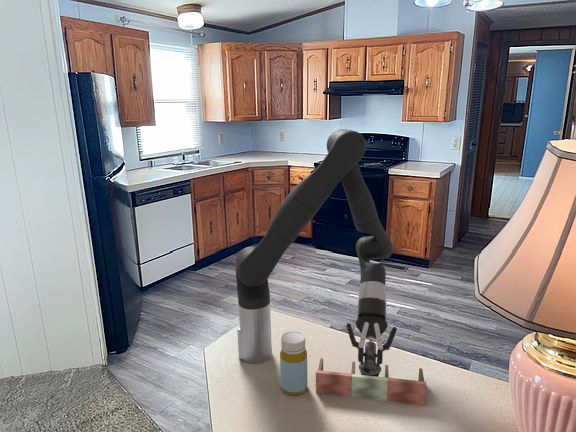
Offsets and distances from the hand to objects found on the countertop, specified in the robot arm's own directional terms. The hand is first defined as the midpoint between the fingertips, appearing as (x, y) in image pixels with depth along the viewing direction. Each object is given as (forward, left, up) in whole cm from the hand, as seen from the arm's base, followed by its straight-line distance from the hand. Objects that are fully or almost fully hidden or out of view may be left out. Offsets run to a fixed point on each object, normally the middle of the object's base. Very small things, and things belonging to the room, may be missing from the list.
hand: (370, 364), depth 110 cm
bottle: (-19, -3, -7) cm, 21 cm away
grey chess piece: (0, +2, -6) cm, 6 cm away
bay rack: (0, +1, -7) cm, 7 cm away
